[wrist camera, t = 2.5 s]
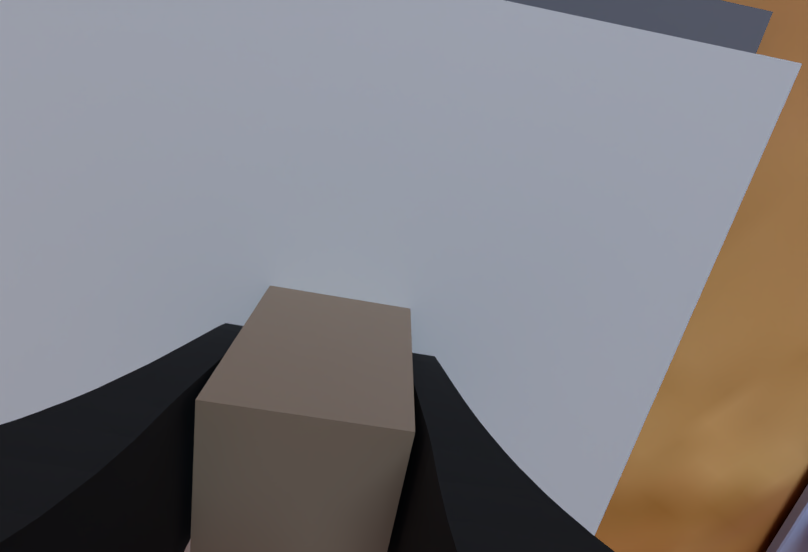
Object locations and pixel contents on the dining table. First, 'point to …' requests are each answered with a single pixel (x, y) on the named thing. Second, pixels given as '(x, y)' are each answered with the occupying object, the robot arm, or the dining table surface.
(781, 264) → the dining table surface
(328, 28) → the lid
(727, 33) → the mat
